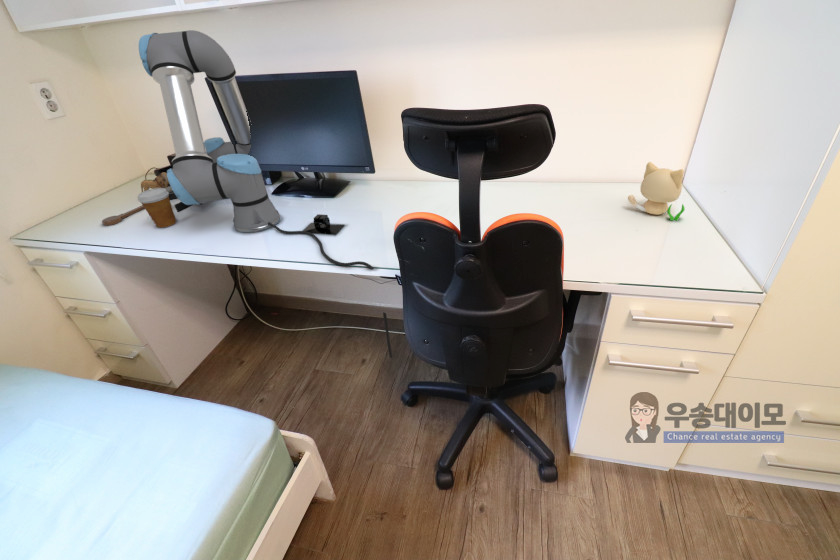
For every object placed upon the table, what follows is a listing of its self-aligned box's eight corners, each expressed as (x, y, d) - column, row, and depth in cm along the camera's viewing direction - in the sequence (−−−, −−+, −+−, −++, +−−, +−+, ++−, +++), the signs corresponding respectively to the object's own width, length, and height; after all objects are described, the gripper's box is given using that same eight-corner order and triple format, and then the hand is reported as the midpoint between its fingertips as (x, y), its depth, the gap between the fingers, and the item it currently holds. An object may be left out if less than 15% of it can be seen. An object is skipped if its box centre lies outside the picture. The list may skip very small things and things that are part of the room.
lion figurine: (178, 190, 173) (169, 170, 168) (175, 194, 168) (166, 173, 163) (142, 195, 170) (132, 175, 165) (137, 199, 166) (127, 179, 161)
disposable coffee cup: (146, 227, 140) (130, 196, 134) (170, 216, 147) (156, 186, 140) (162, 231, 136) (146, 199, 130) (186, 220, 143) (172, 189, 136)
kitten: (689, 215, 118) (705, 166, 110) (670, 225, 114) (686, 175, 105) (641, 201, 129) (653, 155, 120) (623, 210, 124) (634, 163, 116)
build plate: (301, 233, 128) (297, 220, 125) (312, 223, 133) (308, 210, 131) (335, 235, 124) (332, 221, 122) (345, 225, 130) (342, 212, 128)
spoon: (165, 201, 162) (164, 197, 161) (110, 226, 144) (108, 222, 143) (155, 200, 164) (153, 196, 163) (99, 224, 146) (97, 221, 145)
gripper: (235, 197, 154) (192, 219, 138) (189, 192, 162) (143, 213, 146) (229, 178, 150) (184, 199, 133) (181, 175, 158) (133, 194, 142)
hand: (162, 207), depth 140 cm, fingers open, 13 cm apart
